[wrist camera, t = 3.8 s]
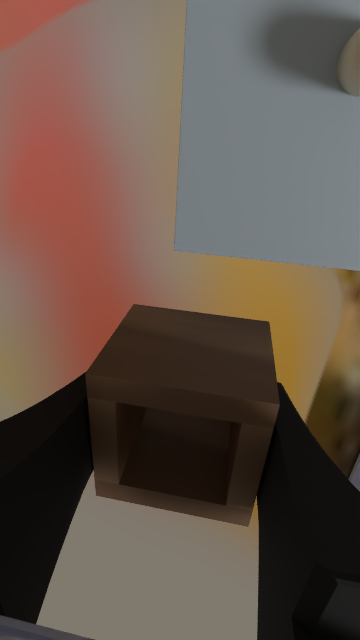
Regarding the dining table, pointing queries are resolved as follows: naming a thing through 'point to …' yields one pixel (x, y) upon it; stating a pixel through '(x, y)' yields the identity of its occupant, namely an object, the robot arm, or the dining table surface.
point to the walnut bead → (183, 412)
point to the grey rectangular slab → (271, 132)
